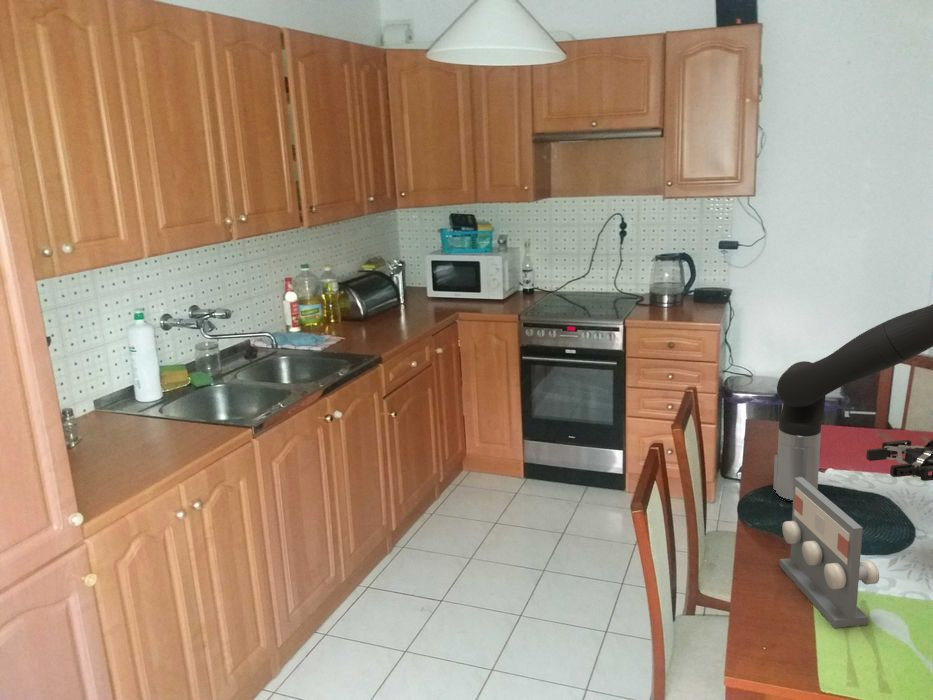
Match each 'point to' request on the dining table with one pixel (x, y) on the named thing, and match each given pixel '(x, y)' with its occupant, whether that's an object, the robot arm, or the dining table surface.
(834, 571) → the pin
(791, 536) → the pin
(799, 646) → the dining table surface
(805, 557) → the middle pin
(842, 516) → the grey panel with knobs
